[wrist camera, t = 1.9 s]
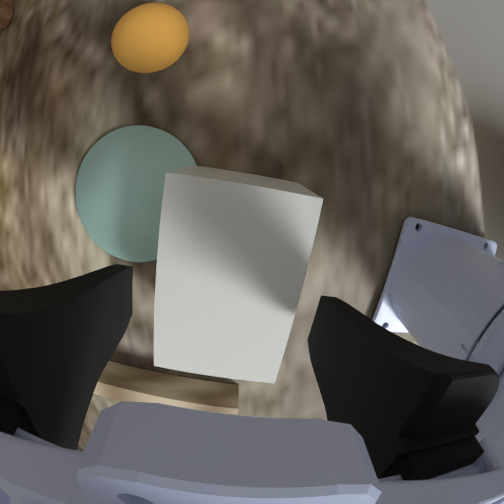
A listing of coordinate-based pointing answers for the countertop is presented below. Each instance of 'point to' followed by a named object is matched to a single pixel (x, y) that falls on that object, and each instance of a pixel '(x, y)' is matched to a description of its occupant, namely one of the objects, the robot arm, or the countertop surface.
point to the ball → (150, 37)
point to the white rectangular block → (230, 271)
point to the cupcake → (5, 13)
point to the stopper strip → (166, 389)
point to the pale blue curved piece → (127, 189)
